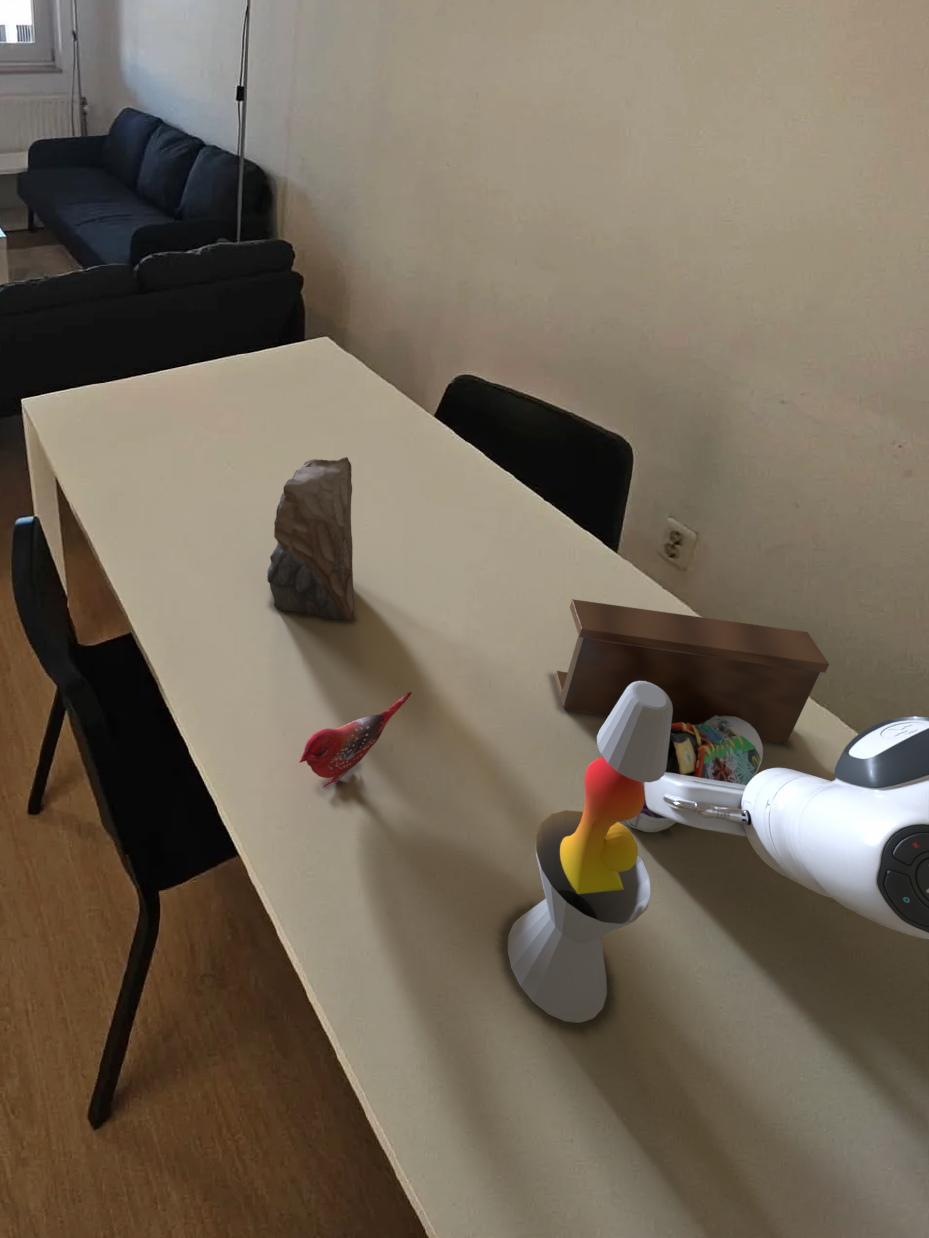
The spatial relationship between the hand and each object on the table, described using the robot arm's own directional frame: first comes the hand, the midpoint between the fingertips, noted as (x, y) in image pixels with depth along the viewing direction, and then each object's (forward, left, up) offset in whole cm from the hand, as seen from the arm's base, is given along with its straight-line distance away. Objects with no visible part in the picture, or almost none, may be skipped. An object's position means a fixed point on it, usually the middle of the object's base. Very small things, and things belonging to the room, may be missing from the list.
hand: (721, 795), depth 81 cm
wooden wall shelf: (-1, -15, -5) cm, 16 cm away
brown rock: (+44, -26, -5) cm, 52 cm away
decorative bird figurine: (+38, 0, -5) cm, 39 cm away
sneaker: (+1, -5, -5) cm, 7 cm away
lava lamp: (+19, +16, -5) cm, 26 cm away
